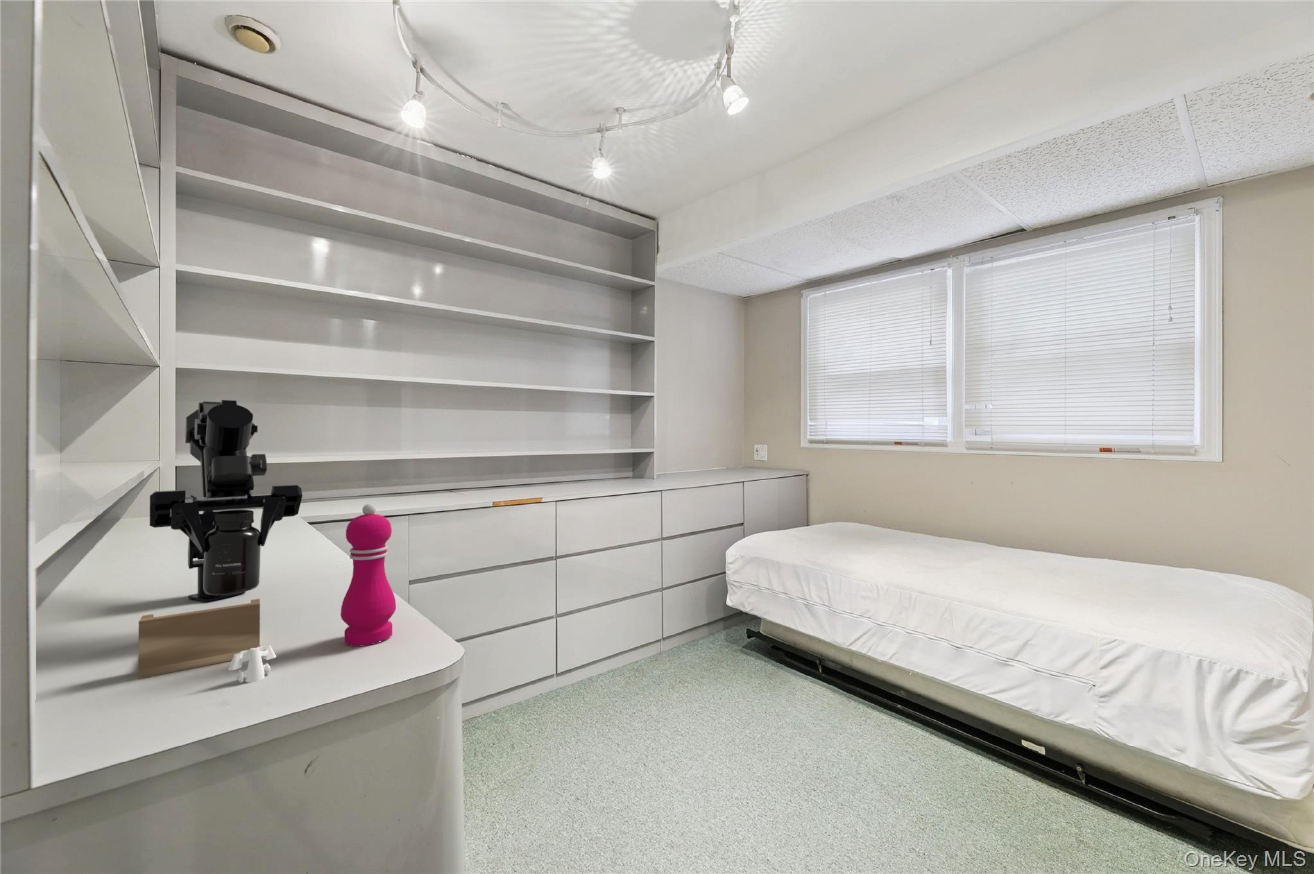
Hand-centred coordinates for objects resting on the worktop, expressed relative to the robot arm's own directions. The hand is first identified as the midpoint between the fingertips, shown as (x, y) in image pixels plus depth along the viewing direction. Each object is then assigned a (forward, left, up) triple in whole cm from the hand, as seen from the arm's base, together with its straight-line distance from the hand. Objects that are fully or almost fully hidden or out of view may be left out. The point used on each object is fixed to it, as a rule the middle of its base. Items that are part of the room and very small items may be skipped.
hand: (234, 547), depth 81 cm
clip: (+20, -8, -13) cm, 25 cm away
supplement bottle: (-1, +1, -7) cm, 7 cm away
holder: (+4, -6, -13) cm, 15 cm away
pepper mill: (+21, +7, -13) cm, 25 cm away
